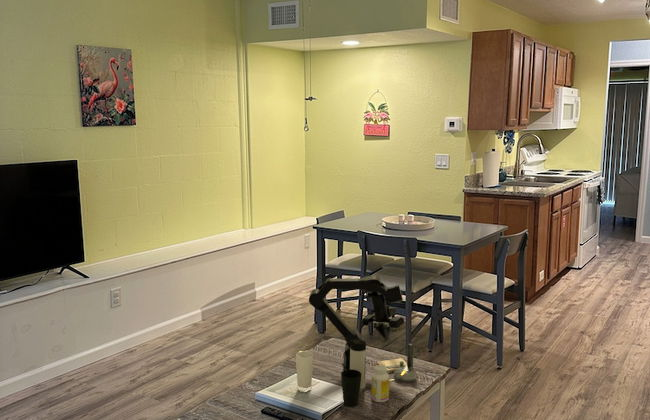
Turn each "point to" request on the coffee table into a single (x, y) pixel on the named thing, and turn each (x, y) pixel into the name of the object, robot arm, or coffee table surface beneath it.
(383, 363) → the stand
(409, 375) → the grey piece
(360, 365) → the travel mug
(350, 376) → the cup
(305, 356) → the drinking glass
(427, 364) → the coffee table surface
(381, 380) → the supplement bottle
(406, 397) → the coffee table surface
